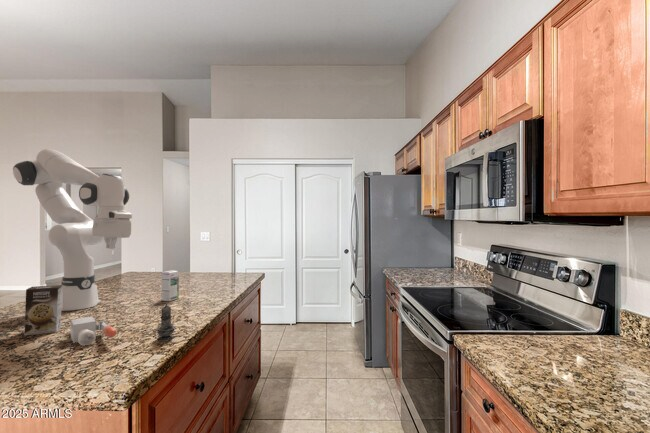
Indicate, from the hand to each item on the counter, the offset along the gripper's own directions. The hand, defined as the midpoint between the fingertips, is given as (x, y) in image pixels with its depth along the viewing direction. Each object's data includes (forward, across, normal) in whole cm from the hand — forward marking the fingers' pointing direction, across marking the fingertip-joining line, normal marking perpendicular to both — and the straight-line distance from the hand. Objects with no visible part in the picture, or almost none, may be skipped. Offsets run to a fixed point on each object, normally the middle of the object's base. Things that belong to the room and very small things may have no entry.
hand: (110, 248), depth 129 cm
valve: (+29, +11, -15) cm, 35 cm away
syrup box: (+29, -9, +35) cm, 47 cm away
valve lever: (+26, +11, -9) cm, 30 cm away
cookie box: (+29, -9, -18) cm, 35 cm away
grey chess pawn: (+29, +36, -2) cm, 46 cm away
